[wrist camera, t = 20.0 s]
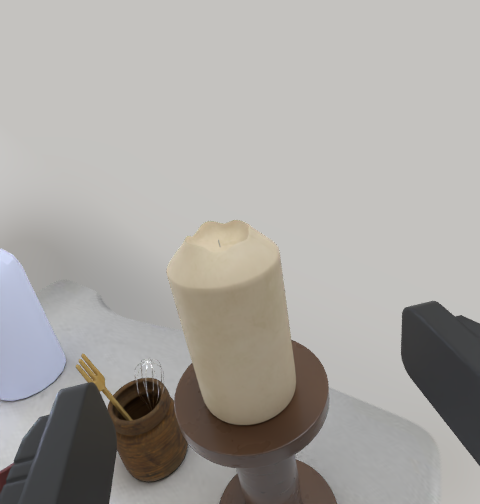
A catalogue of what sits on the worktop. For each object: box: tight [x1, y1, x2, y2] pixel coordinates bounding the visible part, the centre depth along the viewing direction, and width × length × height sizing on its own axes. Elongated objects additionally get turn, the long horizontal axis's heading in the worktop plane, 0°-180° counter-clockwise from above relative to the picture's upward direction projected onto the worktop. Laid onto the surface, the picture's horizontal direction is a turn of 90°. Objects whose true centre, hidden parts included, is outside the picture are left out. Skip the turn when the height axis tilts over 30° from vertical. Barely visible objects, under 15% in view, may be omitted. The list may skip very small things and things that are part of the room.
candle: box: [167, 220, 296, 425], centre depth 20 cm, size 6×6×10 cm
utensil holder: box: [76, 354, 188, 481], centre depth 33 cm, size 6×6×12 cm
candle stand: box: [174, 340, 337, 504], centre depth 25 cm, size 9×9×14 cm
